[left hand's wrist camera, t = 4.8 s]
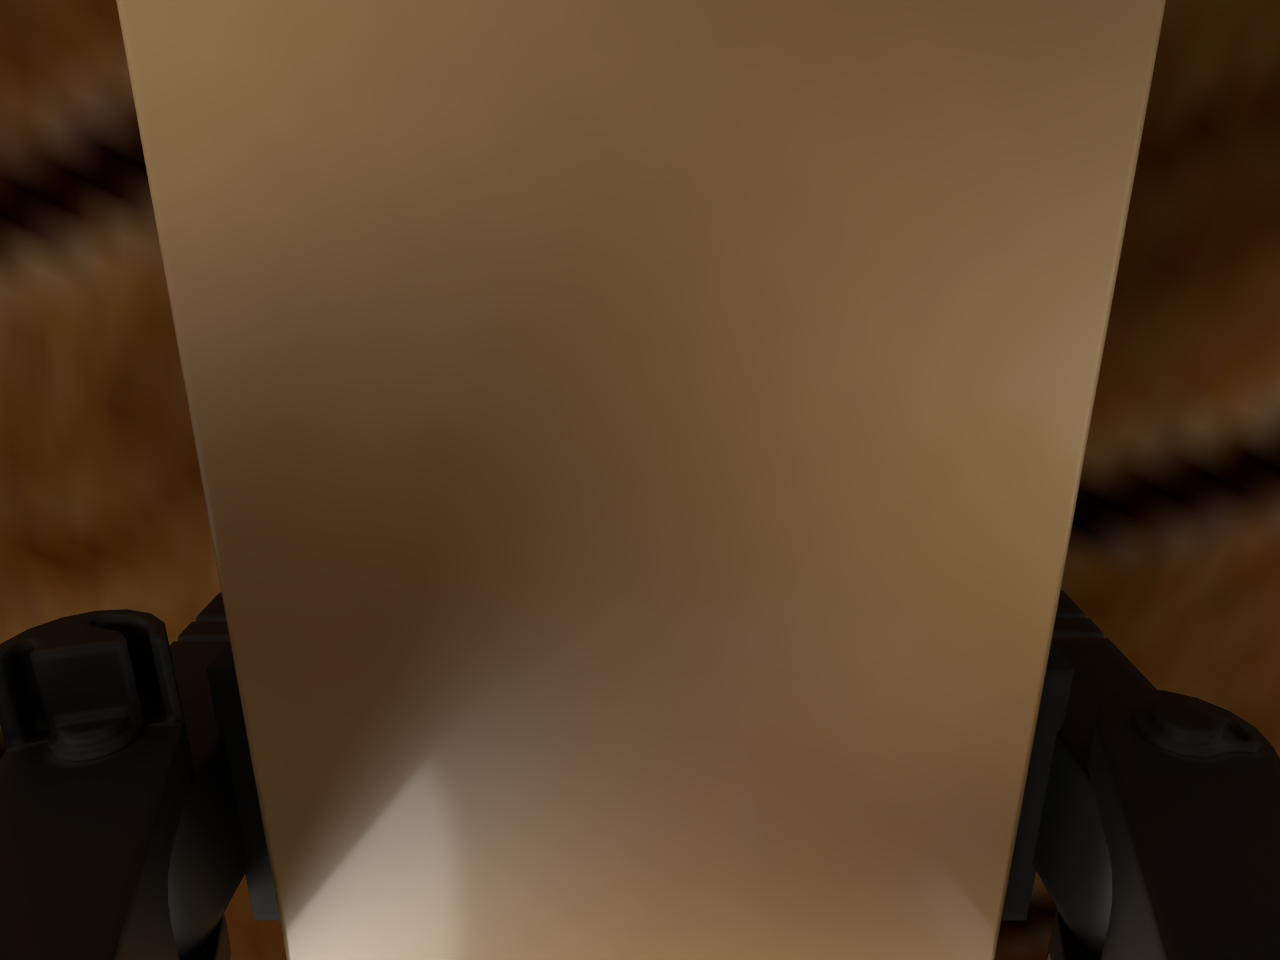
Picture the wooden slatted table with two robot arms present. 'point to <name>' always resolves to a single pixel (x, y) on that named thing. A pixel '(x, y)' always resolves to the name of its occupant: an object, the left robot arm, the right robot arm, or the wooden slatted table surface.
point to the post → (640, 448)
